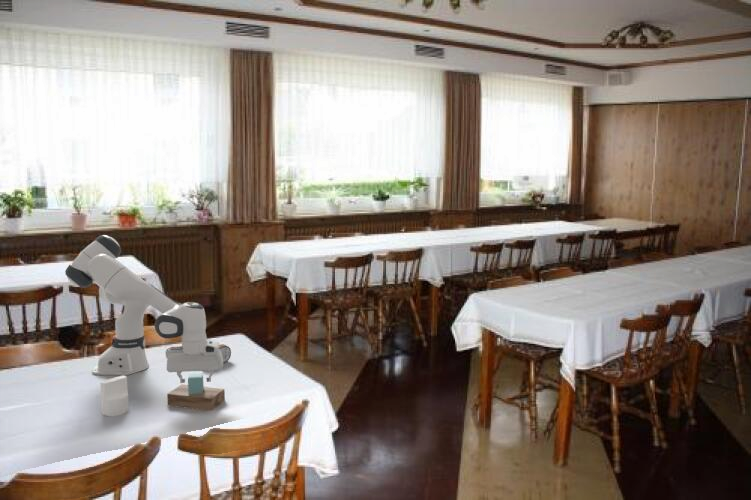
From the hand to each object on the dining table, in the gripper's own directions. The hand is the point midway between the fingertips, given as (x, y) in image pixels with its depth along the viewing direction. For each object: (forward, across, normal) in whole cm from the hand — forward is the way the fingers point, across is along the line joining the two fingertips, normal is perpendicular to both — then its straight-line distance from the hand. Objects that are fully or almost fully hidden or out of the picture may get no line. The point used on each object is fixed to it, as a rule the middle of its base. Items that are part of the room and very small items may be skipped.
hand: (195, 381), depth 234 cm
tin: (+9, +3, +43) cm, 44 cm away
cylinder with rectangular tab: (+8, -28, -4) cm, 30 cm away
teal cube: (+4, 0, 0) cm, 4 cm away
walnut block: (+9, 0, 0) cm, 9 cm away
